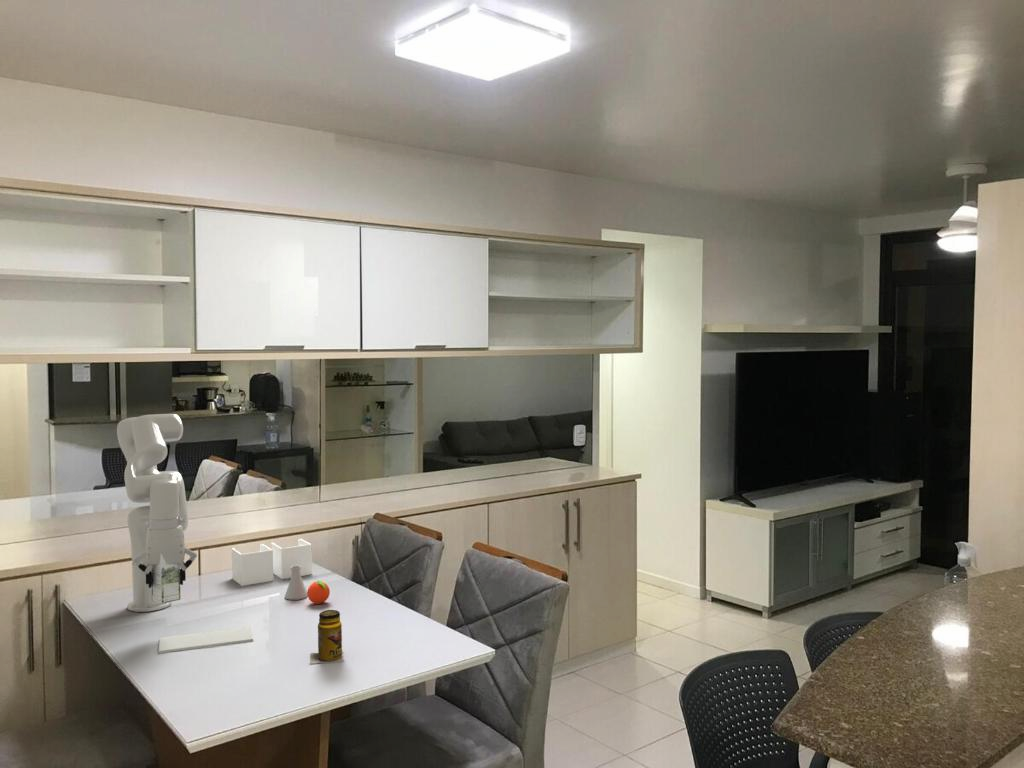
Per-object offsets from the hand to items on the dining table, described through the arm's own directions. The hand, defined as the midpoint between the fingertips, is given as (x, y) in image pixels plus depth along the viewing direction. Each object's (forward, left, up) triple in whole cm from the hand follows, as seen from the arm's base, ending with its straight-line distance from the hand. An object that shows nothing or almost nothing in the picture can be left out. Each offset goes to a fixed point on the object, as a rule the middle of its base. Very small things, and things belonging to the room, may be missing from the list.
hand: (166, 584), depth 236 cm
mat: (+9, +10, -14) cm, 20 cm away
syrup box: (0, 0, -5) cm, 5 cm away
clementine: (-13, +44, -15) cm, 48 cm away
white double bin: (-52, +33, -15) cm, 64 cm away
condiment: (+35, +39, -15) cm, 55 cm away
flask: (-23, +38, -15) cm, 47 cm away
